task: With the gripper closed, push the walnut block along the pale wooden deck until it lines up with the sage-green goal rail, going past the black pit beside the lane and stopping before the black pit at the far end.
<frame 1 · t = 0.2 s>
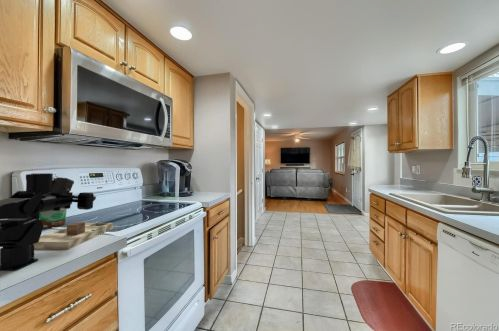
hand: (84, 197, 89), 16 cm above the table, tool horizontal, fingers open, 9 cm apart
walnut block: (76, 233, 85), point 2 cm above the table, touching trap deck
food container: (56, 226, 102), on the table
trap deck: (75, 237, 88), on the table
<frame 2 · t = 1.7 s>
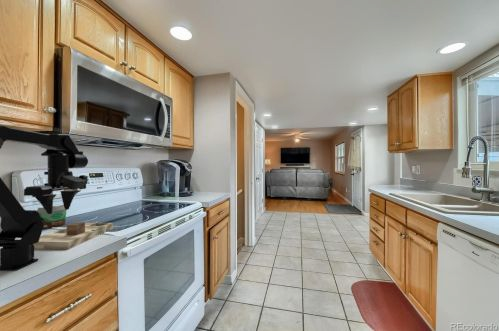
hand: (58, 211, 77), 13 cm above the table, tool pointing down, fingers open, 6 cm apart
nothing on the table moved.
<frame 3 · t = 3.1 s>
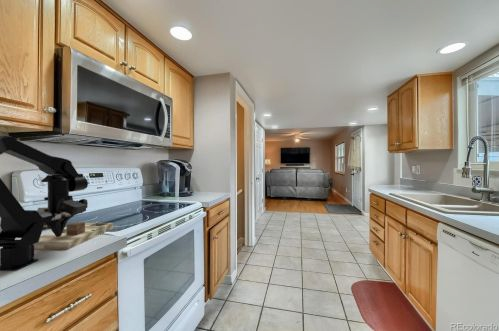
hand: (58, 236, 77), 4 cm above the table, tool pointing down, fingers closed
nothing on the table moved.
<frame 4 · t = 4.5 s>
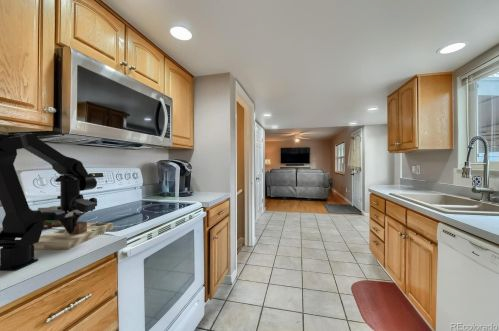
hand: (70, 232, 82), 4 cm above the table, tool pointing down, fingers closed
walnut block: (78, 232, 86), point 3 cm above the table, touching gripper
everything else where it was.
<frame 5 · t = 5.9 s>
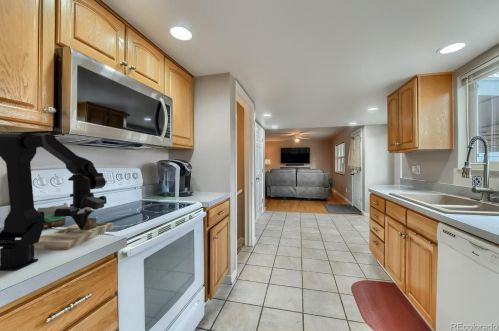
hand: (81, 228, 87), 4 cm above the table, tool pointing down, fingers closed
walnut block: (88, 228, 91), point 2 cm above the table, touching gripper, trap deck
everything else where it was.
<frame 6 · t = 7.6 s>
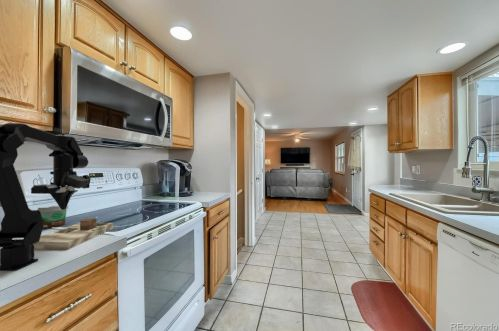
hand: (63, 209, 82), 13 cm above the table, tool pointing down, fingers closed
walnut block: (88, 228, 91), point 2 cm above the table, touching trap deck
everything else where it was.
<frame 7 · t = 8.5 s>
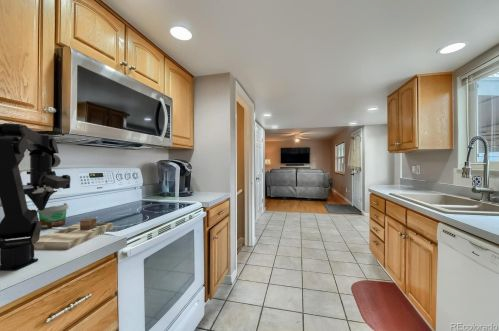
hand: (41, 210, 79), 13 cm above the table, tool pointing down, fingers closed
nothing on the table moved.
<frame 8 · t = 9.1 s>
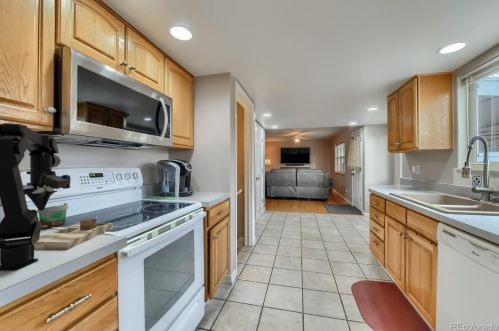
hand: (41, 210, 79), 13 cm above the table, tool pointing down, fingers closed
nothing on the table moved.
at the end: walnut block 0.1 cm from the target spot, point 2.5 cm above the table; walnut block tilted 0° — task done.
